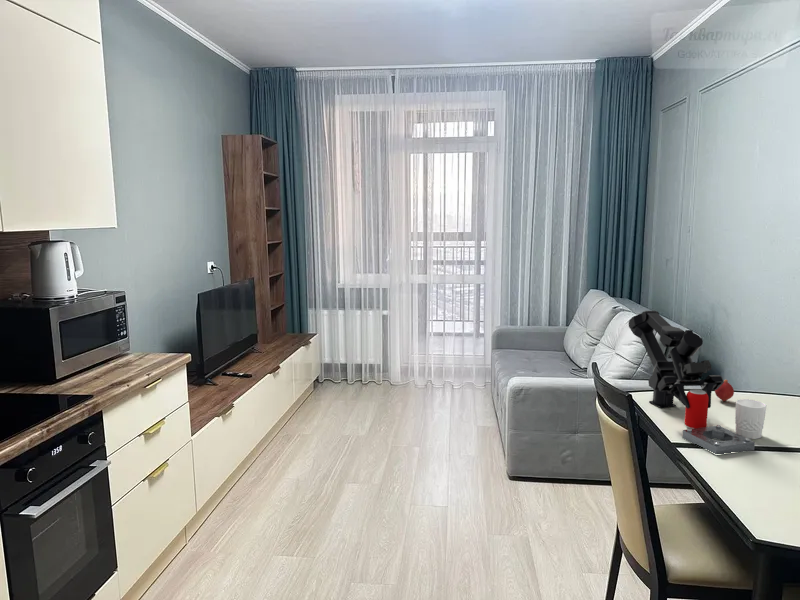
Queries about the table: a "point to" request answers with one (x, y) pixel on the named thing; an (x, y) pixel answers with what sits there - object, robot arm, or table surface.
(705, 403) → the beverage can
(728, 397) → the onion
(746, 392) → the table surface
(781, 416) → the table surface
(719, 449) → the housing
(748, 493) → the table surface
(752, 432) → the white cup
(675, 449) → the table surface
